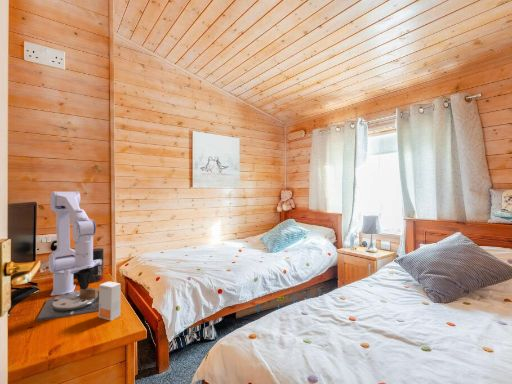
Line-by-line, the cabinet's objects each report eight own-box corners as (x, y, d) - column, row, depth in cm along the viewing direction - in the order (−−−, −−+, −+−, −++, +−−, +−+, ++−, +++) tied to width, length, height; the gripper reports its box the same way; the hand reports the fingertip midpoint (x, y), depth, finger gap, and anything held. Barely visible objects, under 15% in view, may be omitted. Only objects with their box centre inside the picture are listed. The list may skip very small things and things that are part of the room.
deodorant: (96, 282, 129) (97, 251, 129) (86, 281, 130) (86, 250, 130) (106, 278, 135) (106, 248, 135) (95, 277, 136) (96, 248, 136)
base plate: (47, 301, 108) (47, 298, 108) (104, 292, 118) (104, 290, 118) (36, 323, 92) (36, 319, 92) (103, 311, 101) (103, 308, 101)
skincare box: (98, 318, 96) (98, 284, 96) (108, 312, 100) (108, 280, 100) (111, 321, 94) (111, 287, 93) (121, 315, 98) (121, 283, 97)
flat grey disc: (42, 310, 98) (42, 295, 98) (70, 294, 112) (70, 281, 112) (84, 311, 98) (84, 296, 98) (106, 295, 112) (106, 282, 112)
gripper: (75, 258, 93) (74, 297, 93) (108, 249, 107) (107, 283, 107) (59, 257, 95) (59, 295, 95) (93, 247, 109) (93, 281, 109)
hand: (83, 288), depth 101 cm, fingers closed
